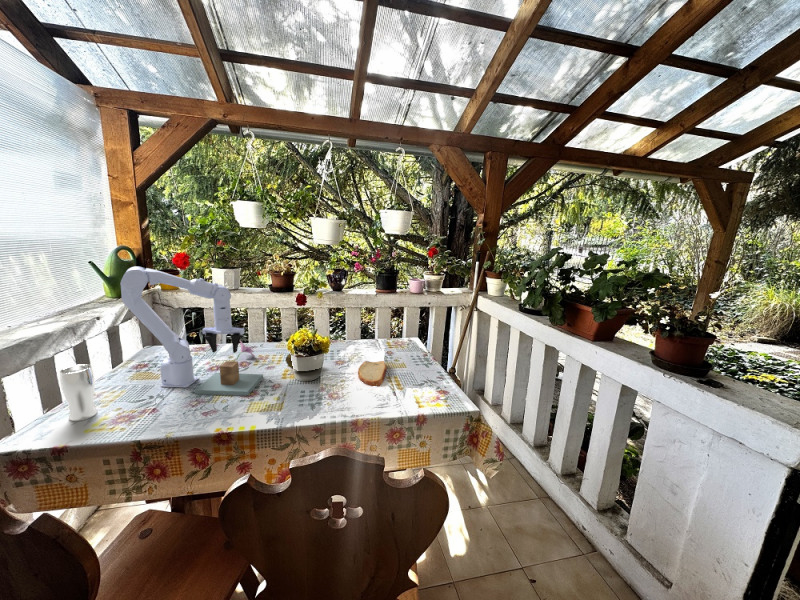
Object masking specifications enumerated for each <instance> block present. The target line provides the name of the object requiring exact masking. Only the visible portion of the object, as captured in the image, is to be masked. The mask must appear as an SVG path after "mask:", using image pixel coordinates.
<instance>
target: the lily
mask: <svg viewBox="0 0 800 600" xmlns="http://www.w3.org/2000/svg"><path fill="white" fill-rule="evenodd" d="M239 346H240V352H239V354H238V355H237V357H236V359H235V361H236V360H237V361H238V358H239V357H240V355H241V354H242V353H248V354H251V355H252V356H254V358H255V357H256V355H254V352H255V351H254V350H253V349H252V348H251V347H250V346H249V345H245V344H244V343H243V342H242V341H241V339H240V341H239Z"/></svg>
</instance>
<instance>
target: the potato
mask: <svg viewBox="0 0 800 600" xmlns="http://www.w3.org/2000/svg"><path fill="white" fill-rule="evenodd" d="M285 362H286V364H287V367H289V368H290V369H292V370H294V369H293V366H292V361H291V355H290V353H288V354H287V356H286V357H285Z"/></svg>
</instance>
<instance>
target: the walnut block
mask: <svg viewBox="0 0 800 600" xmlns="http://www.w3.org/2000/svg"><path fill="white" fill-rule="evenodd" d="M239 366H240V365H239V361H228V360H227V361H225V362H223V363H222V364H221V365H219V373H220V379H221V385H234V384H235V383H236V382H237V381H238V380H239V374H240V368H239Z"/></svg>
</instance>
